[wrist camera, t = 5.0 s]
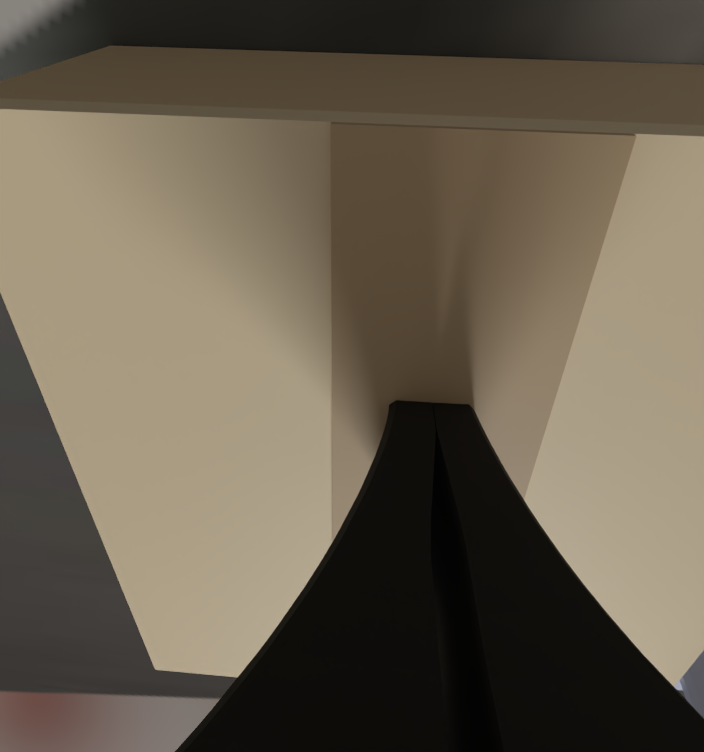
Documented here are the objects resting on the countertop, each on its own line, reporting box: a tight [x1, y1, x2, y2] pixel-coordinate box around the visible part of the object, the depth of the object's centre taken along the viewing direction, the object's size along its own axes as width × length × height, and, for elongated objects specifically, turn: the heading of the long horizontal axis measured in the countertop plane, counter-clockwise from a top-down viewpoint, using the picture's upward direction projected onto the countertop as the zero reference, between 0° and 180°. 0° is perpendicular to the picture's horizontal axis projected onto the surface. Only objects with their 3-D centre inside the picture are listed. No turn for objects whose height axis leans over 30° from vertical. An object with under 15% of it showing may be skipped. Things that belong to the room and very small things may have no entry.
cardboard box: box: [0, 46, 704, 125], centre depth 14 cm, size 14×15×5 cm
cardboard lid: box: [0, 98, 704, 687], centre depth 11 cm, size 14×15×1 cm
